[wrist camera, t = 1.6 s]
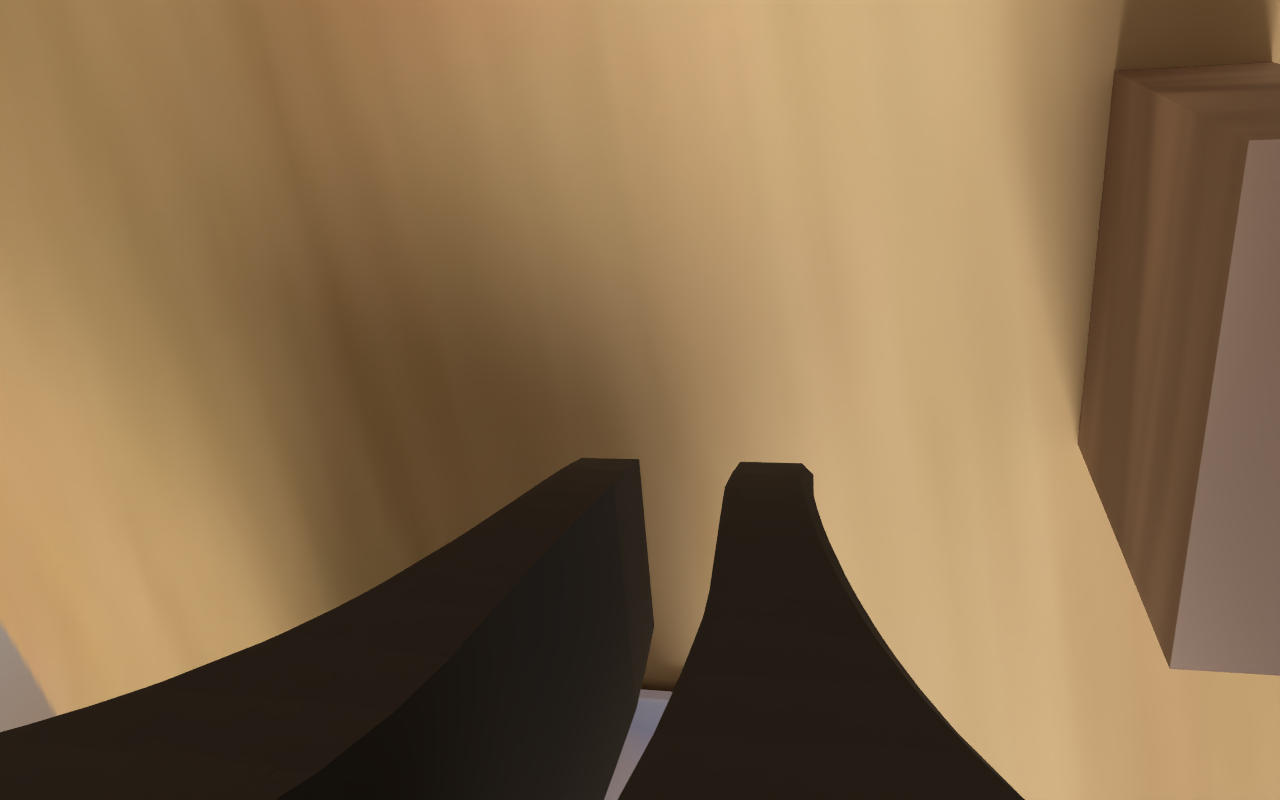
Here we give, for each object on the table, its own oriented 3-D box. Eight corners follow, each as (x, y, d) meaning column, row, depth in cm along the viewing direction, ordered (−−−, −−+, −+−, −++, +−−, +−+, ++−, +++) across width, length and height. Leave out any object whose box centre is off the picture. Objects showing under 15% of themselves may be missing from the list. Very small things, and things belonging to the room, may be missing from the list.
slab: (1077, 443, 20) (1170, 668, 14) (1113, 70, 17) (1248, 140, 11) (1212, 445, 20) (1371, 680, 13) (1271, 61, 17) (1507, 129, 11)
